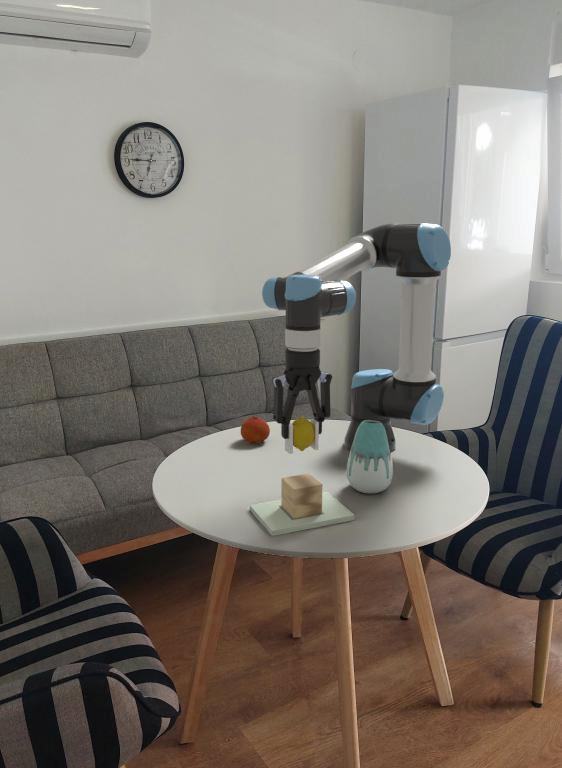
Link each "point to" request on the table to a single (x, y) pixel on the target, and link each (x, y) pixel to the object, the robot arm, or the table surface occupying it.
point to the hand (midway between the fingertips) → (301, 449)
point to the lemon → (302, 433)
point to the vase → (370, 459)
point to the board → (283, 522)
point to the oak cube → (301, 495)
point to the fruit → (255, 430)
